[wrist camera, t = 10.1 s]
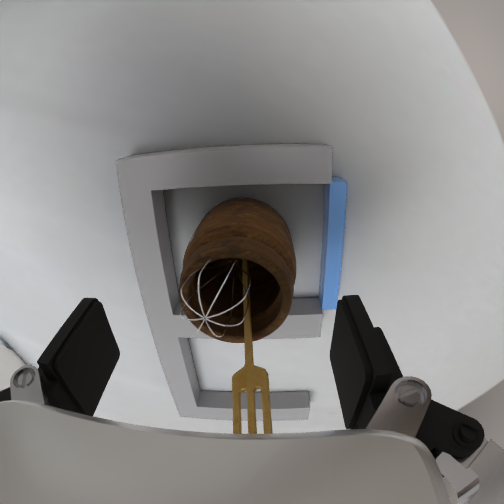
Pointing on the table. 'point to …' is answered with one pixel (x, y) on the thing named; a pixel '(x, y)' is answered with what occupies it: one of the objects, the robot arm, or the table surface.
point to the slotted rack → (162, 268)
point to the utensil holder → (240, 288)
